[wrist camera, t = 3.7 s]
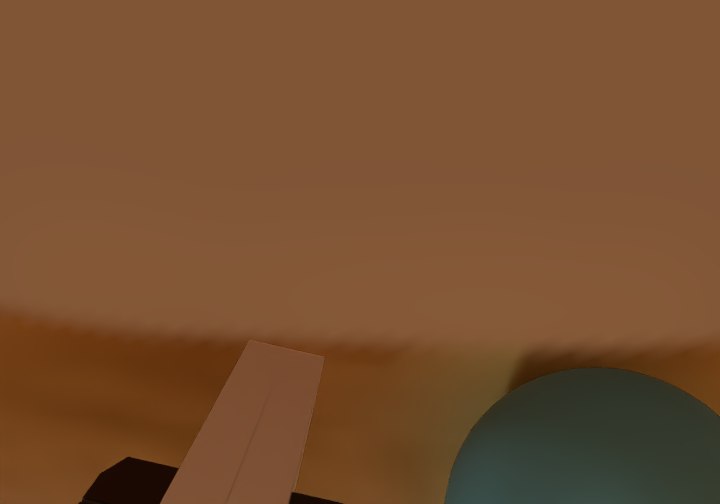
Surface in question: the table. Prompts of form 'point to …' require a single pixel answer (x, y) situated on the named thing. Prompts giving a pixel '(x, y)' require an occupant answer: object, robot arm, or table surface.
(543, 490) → the ball
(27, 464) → the table surface
